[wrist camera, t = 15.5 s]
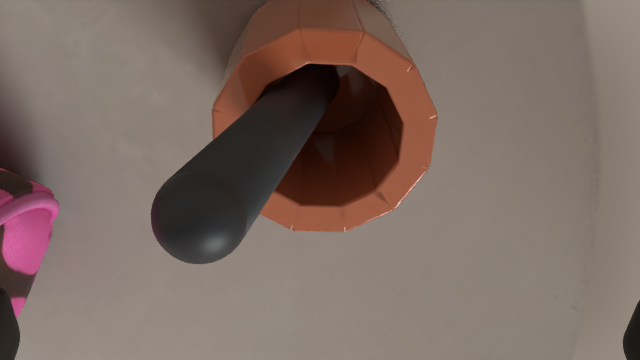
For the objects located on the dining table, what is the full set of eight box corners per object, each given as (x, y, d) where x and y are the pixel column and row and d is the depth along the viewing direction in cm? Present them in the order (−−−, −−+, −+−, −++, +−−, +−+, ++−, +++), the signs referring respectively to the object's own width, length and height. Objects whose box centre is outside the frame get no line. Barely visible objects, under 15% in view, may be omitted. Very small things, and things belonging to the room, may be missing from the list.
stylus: (352, 72, 17) (250, 230, 7) (326, 109, 17) (200, 300, 8) (313, 45, 17) (159, 169, 7) (289, 82, 17) (116, 244, 8)
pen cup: (435, 46, 17) (481, 107, 13) (340, 172, 19) (352, 262, 15) (290, -53, 16) (286, -21, 11) (204, 96, 18) (173, 172, 13)
